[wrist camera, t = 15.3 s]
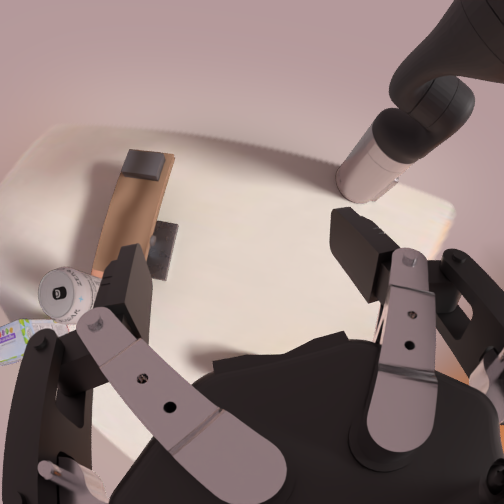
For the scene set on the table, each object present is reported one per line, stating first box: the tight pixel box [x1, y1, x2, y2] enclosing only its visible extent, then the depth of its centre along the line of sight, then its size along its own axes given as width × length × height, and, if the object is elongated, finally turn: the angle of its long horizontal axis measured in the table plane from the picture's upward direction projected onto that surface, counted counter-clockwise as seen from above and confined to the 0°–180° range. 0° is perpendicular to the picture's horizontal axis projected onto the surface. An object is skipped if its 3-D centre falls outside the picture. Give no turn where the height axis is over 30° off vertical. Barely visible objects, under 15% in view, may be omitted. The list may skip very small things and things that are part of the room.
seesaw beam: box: [91, 149, 175, 279], centre depth 41 cm, size 9×28×4 cm, turn 170°
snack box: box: [0, 319, 69, 366], centre depth 36 cm, size 21×6×15 cm, turn 112°
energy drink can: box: [38, 267, 101, 324], centre depth 31 cm, size 6×6×15 cm
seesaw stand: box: [146, 221, 179, 281], centre depth 47 cm, size 12×10×6 cm
